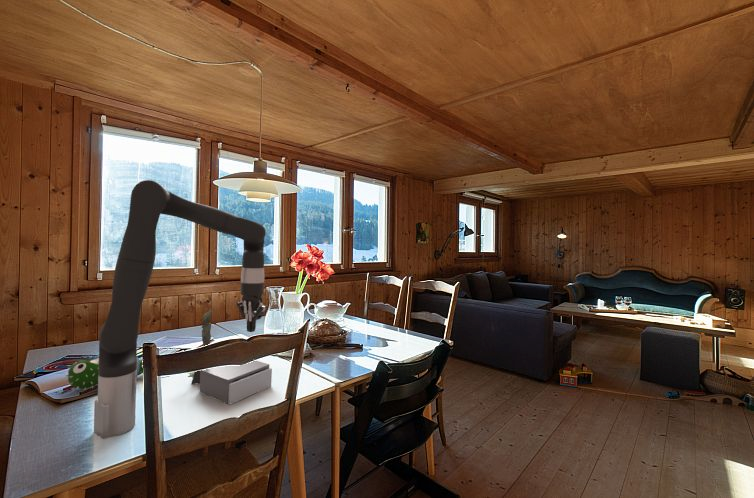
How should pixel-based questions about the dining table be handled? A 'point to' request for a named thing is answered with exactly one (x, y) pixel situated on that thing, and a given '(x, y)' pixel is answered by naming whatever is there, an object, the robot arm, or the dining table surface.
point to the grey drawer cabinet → (226, 378)
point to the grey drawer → (249, 385)
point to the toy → (89, 373)
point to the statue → (204, 340)
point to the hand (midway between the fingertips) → (250, 331)
